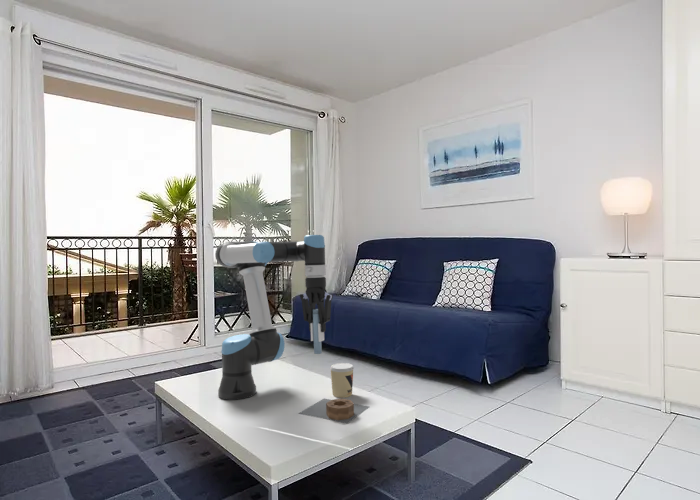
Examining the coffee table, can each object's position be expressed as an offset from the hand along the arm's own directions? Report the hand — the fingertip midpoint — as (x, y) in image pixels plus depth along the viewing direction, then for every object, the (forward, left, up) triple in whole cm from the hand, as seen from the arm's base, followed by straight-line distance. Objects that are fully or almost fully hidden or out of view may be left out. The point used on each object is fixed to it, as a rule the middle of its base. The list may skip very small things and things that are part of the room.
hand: (317, 340), depth 161 cm
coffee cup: (0, +17, -26) cm, 31 cm away
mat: (+6, +1, -25) cm, 26 cm away
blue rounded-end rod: (0, 0, -5) cm, 5 cm away
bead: (+10, -2, -25) cm, 27 cm away
